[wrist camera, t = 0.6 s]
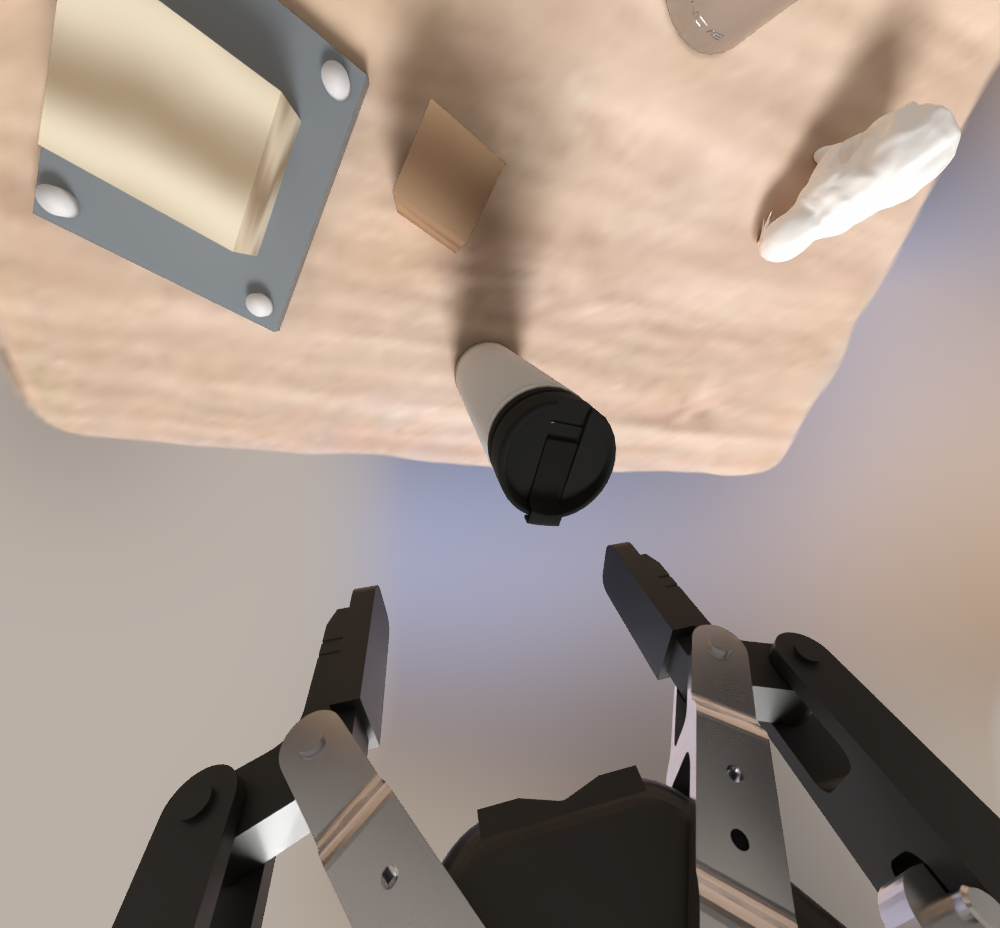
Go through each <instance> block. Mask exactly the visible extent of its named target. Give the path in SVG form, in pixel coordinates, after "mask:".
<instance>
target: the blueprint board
mask: <svg viewBox="0 0 1000 928" xmlns="http://www.w3.org/2000/svg"><path fill="white" fill-rule="evenodd" d="M159 1H160V2H162V3H163V4H164V5H166V6H167V7H168V8H170V9H171V10H172V11H174V12H175V13H176V14H178V15H179V16H180V17H182V18H183V19H184V20H186V21H187V22H189V23H190V24H191V25H193V26H194V27H195V28H197V29H198V30H199V31H201V32H202V33H203V34H205V35H206V36H207V37H209V38H210V39H211V40H213V41H214V42H215V43H217V44H218V45H219V46H221V47H222V48H223V49H225V50H226V51H227V52H229V53H230V54H231V55H233V56H234V57H235V58H237V59H238V60H240V61H241V62H242V63H244V64H245V65H246V66H248V67H249V68H250V69H252V70H253V71H254V72H256V73H257V74H258V75H260V76H261V77H262V78H264V79H265V80H266V81H268V82H269V83H270V84H272V85H273V86H274V87H276V88H277V89H278V90H280V91H281V92H282V93H283V95H284V96H285V98H286V99H287V101H288V102H289V104H290V105H291V107H292V108H293V110H294V111H295V113H296V114H297V115H298V117H299V118H300V120H301V124H300V127H299V130H298V133H297V136H296V139H295V142H294V145H293V148H292V151H291V154H290V157H289V161H288V164H287V167H286V170H285V173H284V176H283V179H282V182H281V185H280V188H279V191H278V194H277V197H276V200H275V204H274V207H273V210H272V213H271V216H270V219H269V222H268V225H267V228H266V231H265V234H264V237H263V240H262V243H261V247H260V250H259V253H258V256H253V255H248V254H243V253H237V252H232V251H231V250H229V249H227V248H225V247H223V246H222V245H220V244H218V243H216V242H214V241H213V240H211V239H209V238H207V237H205V236H203V235H202V234H200V233H198V232H196V231H194V230H193V229H191V228H189V227H187V226H185V225H183V224H182V223H180V222H178V221H176V220H174V219H173V218H171V217H169V216H167V215H165V214H164V213H162V212H160V211H158V210H156V209H154V208H153V207H151V206H149V205H147V204H145V203H144V202H142V201H140V200H138V199H136V198H135V197H133V196H131V195H129V194H127V193H125V192H124V191H122V190H120V189H118V188H116V187H115V186H113V185H111V184H109V183H107V182H105V181H104V180H102V179H100V178H98V177H96V176H95V175H93V174H91V173H89V172H87V171H86V170H84V169H82V168H80V167H78V166H76V165H75V164H73V163H71V162H69V161H67V160H66V159H64V158H62V157H60V156H58V155H56V154H55V153H53V152H51V151H49V150H47V149H46V148H44V147H42V149H41V157H40V164H39V171H38V178H37V186H36V189H35V200H34V207H33V214H35V215H37V216H39V217H42V218H44V219H46V220H48V221H50V222H52V223H54V224H56V225H58V226H60V227H62V228H64V229H66V230H68V231H70V232H72V233H74V234H76V235H78V236H80V237H82V238H84V239H86V240H88V241H90V242H92V243H94V244H96V245H98V246H100V247H102V248H105V249H107V250H109V251H111V252H113V253H115V254H117V255H119V256H121V257H123V258H125V259H127V260H129V261H131V262H133V263H135V264H137V265H139V266H141V267H143V268H145V269H147V270H149V271H151V272H153V273H155V274H157V275H159V276H161V277H163V278H166V279H168V280H170V281H172V282H174V283H176V284H178V285H180V286H182V287H184V288H186V289H188V290H190V291H192V292H194V293H196V294H198V295H200V296H202V297H204V298H206V299H208V300H210V301H212V302H214V303H216V304H218V305H220V306H222V307H224V308H227V309H229V310H231V311H233V312H235V313H237V314H239V315H241V316H243V317H245V318H247V319H249V320H251V321H253V322H255V323H257V324H259V325H261V326H263V327H265V328H267V329H269V330H271V331H273V332H276V331H279V330H280V327H281V324H282V321H283V319H284V316H285V313H286V311H287V308H288V305H289V302H290V300H291V297H292V294H293V291H294V289H295V286H296V283H297V280H298V278H299V275H300V272H301V269H302V267H303V264H304V261H305V259H306V256H307V253H308V250H309V248H310V245H311V242H312V239H313V237H314V234H315V231H316V228H317V226H318V223H319V220H320V217H321V215H322V212H323V209H324V207H325V204H326V201H327V198H328V196H329V193H330V190H331V187H332V185H333V182H334V179H335V176H336V174H337V171H338V168H339V165H340V163H341V160H342V157H343V155H344V152H345V149H346V146H347V144H348V141H349V138H350V135H351V133H352V130H353V127H354V124H355V122H356V119H357V116H358V113H359V111H360V108H361V105H362V103H363V100H364V97H365V94H366V92H367V89H368V86H369V82H368V77H367V75H366V74H365V73H364V72H363V71H362V70H360V69H359V68H358V67H357V66H356V65H354V64H353V63H352V62H351V61H350V60H348V59H347V58H346V57H345V56H344V55H342V54H341V53H340V52H339V51H338V50H336V49H335V48H334V47H333V46H332V45H330V44H329V43H328V42H327V41H326V40H324V39H323V38H322V37H321V36H320V35H319V34H317V33H316V32H315V31H314V30H313V29H311V28H310V27H309V26H308V25H307V24H305V23H304V22H303V21H302V20H301V19H299V18H298V17H297V16H296V15H295V14H293V13H292V12H291V11H290V10H289V9H287V8H286V7H285V6H284V5H283V4H281V3H280V2H279V1H278V0H159Z"/></svg>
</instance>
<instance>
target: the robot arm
mask: <svg viewBox="0 0 1000 928" xmlns="http://www.w3.org/2000/svg"><path fill="white" fill-rule="evenodd" d="M796 1H797V0H666V2H667V8H668V11H669V14H670V17H671V20H672V23H673V25H674V27H675V28H676V30H677V32H678V34H679V35H680V37H681V38H682V39H683V40H684V41H685V43H686V44H687V45H688V46H689V47H691V48H692V49H694V50H696V51H698V52H699V53H704V54H710V55H712V54H719V53H723V52H725V51H727V50H729V49H731V48H734V47H735V46H736V45H738V44H739V43H740V42H742V41H743V40H744V39H746V38H747V37H748V36H750V35H751V34H752V33H754V32H755V31H756V30H758V29H759V28H760V27H762V26H763V25H765V24H766V23H767V22H769V21H770V20H771V19H773V18H774V17H775V16H777V15H778V14H780V13H781V12H782V11H784V10H785V9H787V8H788V7H789V6H791V5H792V4H793V3H795V2H796ZM603 584H604V587H605V590H606V592H607V594H608V596H609V597H610V599H611V601H612V603H613V605H614V606H615V608H616V610H617V611H618V613H619V615H620V616H621V618H622V620H623V621H624V623H625V624H626V627H627V628H628V630H629V632H630V633H631V635H632V637H633V638H634V640H635V642H636V643H637V645H638V647H639V649H640V650H641V652H642V654H643V655H644V657H645V659H646V660H647V662H648V664H649V665H650V667H651V669H652V671H653V672H654V674H655V675H656V677H657V679H658V680H660V679H664V678H669V677H671V679H672V680H673V682H674V684H675V689H674V702H673V722H672V738H671V739H672V740H671V753H670V760H669V766H668V771H667V778H666V784H663V783H661V782H658V781H655V780H651V779H646V778H641V776H640V774H639V772H638V769H637V767H636V765H635V766H632V767H628V768H625V769H621V770H617V771H614V772H610V773H606V774H603V775H599V776H598V777H596V778H595V779H594V780H592V781H591V782H589V783H588V784H587V785H586V786H584V787H583V788H581V789H580V790H578V791H577V792H575V793H574V794H573V795H571V796H570V797H569V798H567V799H565V800H563V801H552V800H551V801H550V800H536V799H521V798H518V799H514V800H511V801H507V802H503V803H500V804H496V805H493V806H489V807H486V808H483V809H479V810H477V811H478V820H479V823H477V824H476V825H474V826H473V827H472V828H470V829H469V830H468V831H467V832H466V833H465V834H464V835H463V836H462V837H460V839H459V840H458V841H457V842H456V843H455V845H454V846H453V847H452V848H451V850H450V851H449V853H448V854H447V856H446V857H445V859H444V860H443V862H442V863H441V862H440V860H439V859H438V857H437V856H436V854H435V853H434V851H433V850H432V848H431V847H430V845H429V844H428V842H427V841H426V839H425V838H424V837H423V835H422V834H421V832H420V831H419V829H418V828H417V826H416V825H415V823H414V822H413V820H412V819H411V817H410V816H409V815H408V813H407V811H406V810H405V809H404V807H403V806H402V804H401V803H400V801H399V800H398V799H397V797H396V795H395V794H394V792H393V791H392V790H391V788H390V787H389V785H388V784H387V783H386V782H385V781H384V780H382V779H381V777H380V776H379V775H378V773H377V772H376V770H375V769H374V767H373V766H372V764H371V763H370V761H369V760H368V758H367V753H368V749H371V748H375V747H379V746H380V734H381V723H382V712H383V699H384V688H385V677H386V665H387V653H388V641H389V621H388V616H387V612H386V609H385V605H384V601H383V598H382V595H381V591H380V588H379V586H378V585H376V586H370V587H364V588H359V589H354V590H353V593H352V597H351V602H350V607H348V608H343V609H338V610H337V611H336V612H335V614H334V615H333V617H332V618H331V619H330V621H329V623H328V624H327V626H326V630H325V634H324V638H323V644H322V645H321V649H320V652H319V658H318V660H317V664H316V667H315V671H314V675H313V679H312V682H311V686H310V690H309V694H308V697H307V701H306V705H305V709H304V712H303V715H302V717H301V719H300V721H299V722H298V723H296V724H295V725H294V726H293V728H292V729H291V730H290V731H289V733H288V734H287V735H286V737H285V739H284V741H283V742H282V743H281V744H279V745H278V746H276V747H275V748H274V749H272V750H270V751H269V752H267V753H265V754H264V755H262V756H260V757H258V758H256V759H255V760H253V761H251V762H249V763H247V764H246V765H244V766H242V767H240V768H238V769H237V770H235V771H234V769H233V768H232V767H230V766H228V765H224V764H223V765H214V766H211V767H208V768H206V769H204V770H202V771H200V772H199V773H197V774H195V775H194V776H193V777H191V778H190V779H189V780H188V781H186V782H185V783H184V784H183V785H182V786H181V787H180V788H179V789H178V790H177V791H176V793H175V794H174V795H173V796H172V798H171V799H170V800H169V802H168V803H167V805H166V806H165V808H164V810H163V812H162V814H161V816H160V818H159V820H158V823H157V825H156V827H155V829H154V832H153V834H152V836H151V839H150V841H149V843H148V846H147V848H146V850H145V852H144V855H143V857H142V859H141V862H140V864H139V866H138V869H137V871H136V873H135V875H134V878H133V880H132V882H131V885H130V888H129V890H128V892H127V894H126V896H125V899H124V901H123V903H122V906H121V908H120V910H119V912H118V915H117V917H116V920H115V922H114V924H113V926H112V928H261V926H262V921H263V916H264V911H265V906H266V902H267V897H268V891H269V887H270V882H271V877H272V872H273V867H274V862H275V858H276V855H277V854H279V853H280V852H282V851H283V850H285V849H286V848H288V847H289V846H291V845H292V844H294V843H295V842H297V841H298V840H300V839H301V838H303V837H304V836H305V835H307V834H309V833H310V832H311V834H312V836H313V838H314V840H315V842H316V845H317V847H318V853H319V857H320V859H321V862H322V864H323V866H324V869H325V871H326V873H327V875H328V877H329V879H330V882H331V883H332V885H333V888H334V890H335V892H336V894H337V896H338V899H339V901H340V903H341V905H342V907H343V909H344V911H345V913H346V916H347V918H348V920H349V922H350V924H351V926H352V928H847V927H845V926H844V925H843V924H841V923H840V922H839V921H838V920H837V919H836V918H834V917H833V916H832V915H831V914H829V913H828V912H827V911H826V910H825V909H823V908H822V907H821V906H820V905H819V904H817V903H816V902H815V901H814V900H813V899H811V898H810V897H809V896H808V895H806V894H805V893H804V892H803V891H802V890H800V889H799V888H798V887H797V886H795V885H794V884H793V883H792V882H791V881H790V876H789V869H788V863H787V856H786V850H785V843H784V836H783V829H782V823H781V816H780V809H779V803H778V796H777V789H776V783H775V776H774V770H773V763H772V756H771V749H770V743H769V738H770V739H771V741H772V742H773V743H774V745H775V746H776V748H777V749H778V750H779V752H780V753H781V755H782V756H783V758H784V759H785V761H786V762H787V763H788V765H789V766H790V767H791V769H792V771H793V772H794V773H795V775H796V776H797V778H798V779H799V781H800V782H801V783H802V785H803V786H804V788H805V789H806V790H807V792H808V793H809V795H810V796H811V798H812V799H813V800H814V802H815V803H816V805H817V806H818V808H819V809H820V810H821V812H822V813H823V815H824V816H825V817H826V819H827V820H828V822H829V823H830V825H831V826H832V828H833V829H834V830H835V832H836V833H837V835H838V836H839V837H840V839H841V840H842V842H843V843H844V845H845V846H846V847H847V849H848V850H849V852H850V853H851V855H852V856H853V857H854V859H855V860H856V862H857V863H858V864H859V866H860V867H861V869H862V870H863V872H864V873H865V875H866V876H867V877H868V878H869V880H870V882H871V883H872V884H873V886H874V887H875V889H876V890H877V892H878V907H879V912H880V915H881V918H882V921H883V923H884V925H885V928H1000V818H999V817H998V816H997V815H996V814H995V813H993V812H992V810H991V809H989V808H988V807H987V806H986V805H985V804H984V803H983V802H982V801H981V800H980V799H979V798H978V797H977V796H976V795H975V794H974V793H973V792H972V791H971V790H970V789H969V788H968V787H967V786H966V785H965V784H964V783H963V782H962V781H961V780H960V779H959V778H958V777H957V776H956V775H955V774H954V773H953V772H952V771H951V770H950V769H949V768H948V767H947V766H946V765H944V764H943V763H942V762H941V761H940V760H939V759H938V758H937V757H936V756H935V755H934V754H933V753H932V752H931V751H930V750H929V749H928V748H927V747H926V746H925V745H924V744H923V743H922V742H921V741H920V740H919V739H918V738H917V737H916V736H915V735H914V734H913V733H912V732H911V731H910V730H909V729H908V728H907V727H905V725H904V724H903V723H902V722H901V721H900V720H899V719H898V718H897V717H895V716H894V715H893V714H892V713H891V712H890V711H889V710H888V709H887V708H886V707H885V706H884V705H883V704H882V703H881V702H880V701H879V700H878V699H877V698H876V697H875V696H874V695H873V694H872V693H871V692H870V691H869V690H868V689H867V688H866V687H865V686H864V685H863V684H862V683H861V682H860V681H859V680H858V679H857V678H856V677H855V676H854V675H852V673H850V671H848V670H847V669H846V668H845V667H844V666H843V665H842V664H841V663H840V662H839V661H838V660H837V659H836V658H835V657H834V656H833V655H832V654H831V653H830V652H829V651H828V650H827V649H826V648H825V647H823V646H822V645H821V644H819V643H818V642H816V641H815V640H812V639H811V638H809V637H806V636H804V635H801V634H797V633H789V632H788V633H782V634H780V635H778V636H777V638H776V640H775V642H774V644H768V643H758V642H749V641H742V640H740V639H738V638H737V637H736V636H735V635H734V634H733V633H731V632H729V631H728V630H726V629H724V628H722V627H719V626H715V625H711V624H710V622H709V621H708V620H707V619H706V618H705V617H704V615H702V613H701V612H700V611H699V610H698V608H697V607H696V606H695V605H694V604H693V602H692V601H691V600H690V599H689V598H688V596H687V595H686V594H685V593H684V592H683V590H682V589H681V588H680V587H678V586H677V583H676V582H675V581H674V580H673V579H672V578H671V577H670V576H669V574H668V572H667V571H666V570H665V569H664V568H663V567H662V565H661V564H660V563H659V562H657V561H656V560H654V559H653V558H651V557H650V556H648V555H647V554H643V555H640V554H639V553H638V552H637V550H636V549H635V548H634V547H633V545H632V544H631V543H629V542H625V543H620V544H614V545H609V546H607V548H606V554H605V562H604V569H603ZM757 721H758V722H759V724H760V725H761V726H762V727H761V726H759V725H758V723H757ZM768 736H769V738H768Z"/></svg>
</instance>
